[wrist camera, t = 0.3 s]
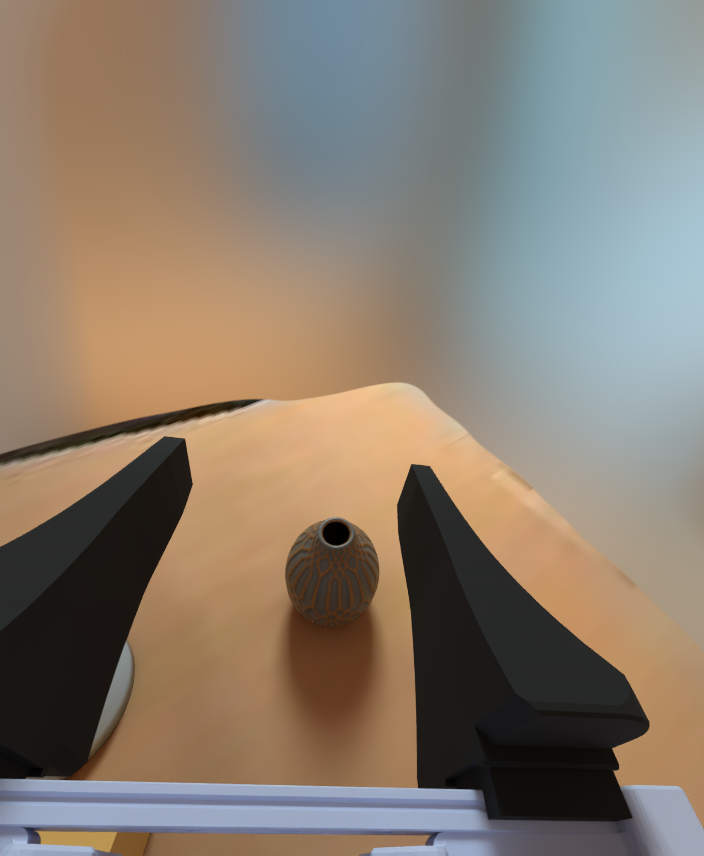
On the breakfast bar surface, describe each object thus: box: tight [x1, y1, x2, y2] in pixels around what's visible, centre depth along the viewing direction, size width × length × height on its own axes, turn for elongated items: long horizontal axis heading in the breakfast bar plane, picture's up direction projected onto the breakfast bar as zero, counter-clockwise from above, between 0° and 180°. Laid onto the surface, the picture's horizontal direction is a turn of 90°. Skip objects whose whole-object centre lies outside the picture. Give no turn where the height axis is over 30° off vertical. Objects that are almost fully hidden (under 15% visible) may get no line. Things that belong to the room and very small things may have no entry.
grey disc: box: [26, 640, 135, 780], centre depth 21 cm, size 9×9×4 cm
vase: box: [285, 517, 379, 627], centre depth 26 cm, size 7×7×9 cm
